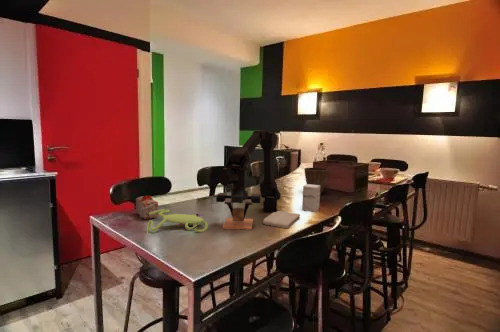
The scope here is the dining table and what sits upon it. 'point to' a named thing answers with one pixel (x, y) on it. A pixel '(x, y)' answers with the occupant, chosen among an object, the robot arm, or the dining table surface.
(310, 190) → the supplement box
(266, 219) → the washcloth
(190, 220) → the figurine
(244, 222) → the terracotta tile
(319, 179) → the plant pot
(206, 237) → the dining table surface
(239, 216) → the walnut cube
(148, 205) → the food item
